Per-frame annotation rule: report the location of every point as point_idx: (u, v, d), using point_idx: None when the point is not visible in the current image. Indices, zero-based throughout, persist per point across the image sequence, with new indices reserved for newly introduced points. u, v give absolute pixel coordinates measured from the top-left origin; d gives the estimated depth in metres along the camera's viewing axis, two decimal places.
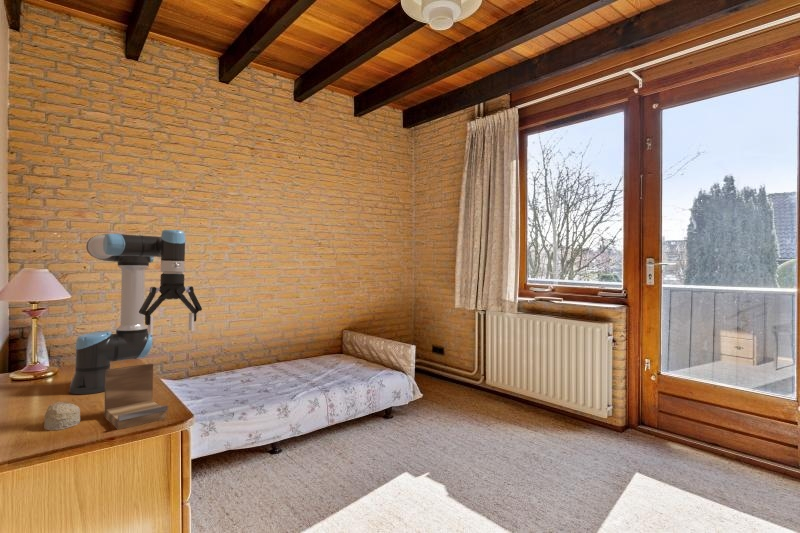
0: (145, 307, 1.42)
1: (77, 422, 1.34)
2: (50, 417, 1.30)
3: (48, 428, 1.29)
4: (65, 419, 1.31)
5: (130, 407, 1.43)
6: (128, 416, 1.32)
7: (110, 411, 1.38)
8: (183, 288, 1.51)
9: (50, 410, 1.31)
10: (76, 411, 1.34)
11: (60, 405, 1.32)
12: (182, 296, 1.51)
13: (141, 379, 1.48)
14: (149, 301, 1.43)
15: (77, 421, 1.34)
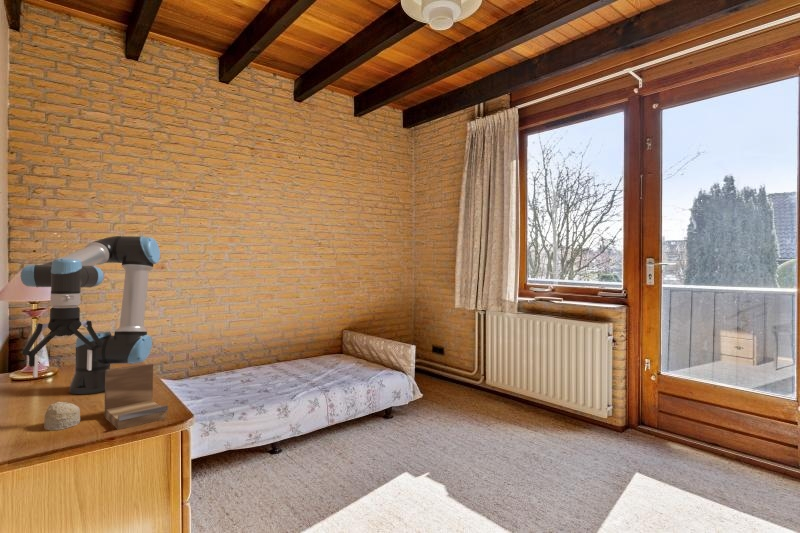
0: (28, 347, 1.27)
1: (77, 422, 1.34)
2: (50, 417, 1.30)
3: (48, 428, 1.29)
4: (65, 419, 1.31)
5: (130, 407, 1.43)
6: (128, 416, 1.32)
7: (110, 411, 1.38)
8: (78, 323, 1.36)
9: (50, 410, 1.31)
10: (76, 411, 1.34)
11: (60, 405, 1.32)
12: (76, 332, 1.35)
13: (141, 379, 1.48)
14: (33, 340, 1.28)
15: (77, 421, 1.34)
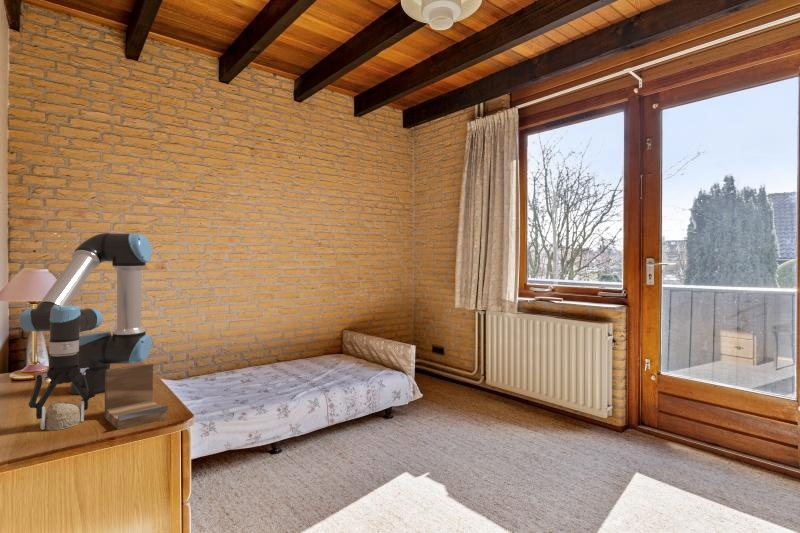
0: (33, 399, 1.28)
1: (77, 422, 1.34)
2: (50, 416, 1.30)
3: (48, 428, 1.29)
4: (65, 419, 1.31)
5: (130, 407, 1.43)
6: (128, 416, 1.32)
7: (110, 411, 1.38)
8: (77, 370, 1.36)
9: (50, 410, 1.31)
10: (76, 411, 1.34)
11: (60, 405, 1.32)
12: (73, 380, 1.35)
13: (141, 379, 1.48)
14: (36, 392, 1.28)
15: (77, 421, 1.34)
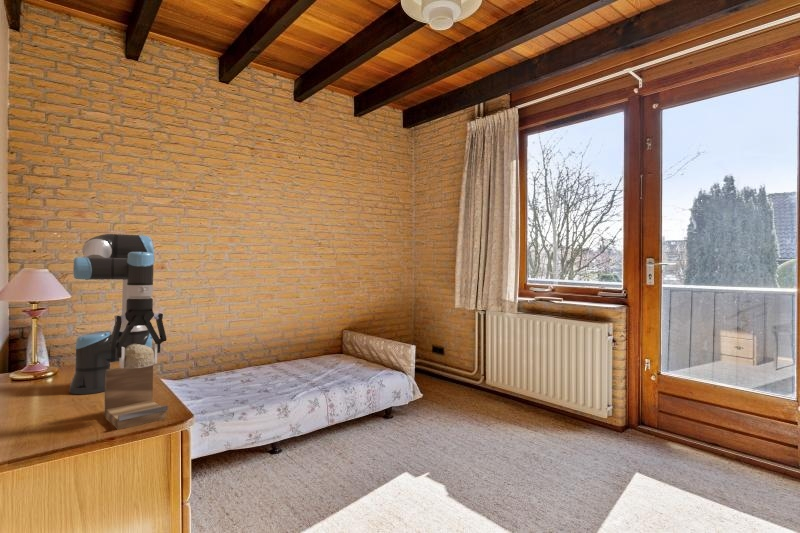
0: (114, 339, 1.34)
1: (152, 363, 1.40)
2: (129, 356, 1.36)
3: (127, 366, 1.35)
4: (142, 358, 1.37)
5: (130, 407, 1.43)
6: (128, 416, 1.32)
7: (110, 411, 1.38)
8: (152, 314, 1.42)
9: (128, 350, 1.37)
10: (151, 352, 1.40)
11: (137, 346, 1.38)
12: (148, 323, 1.41)
13: (141, 379, 1.48)
14: (117, 332, 1.34)
15: (152, 362, 1.40)
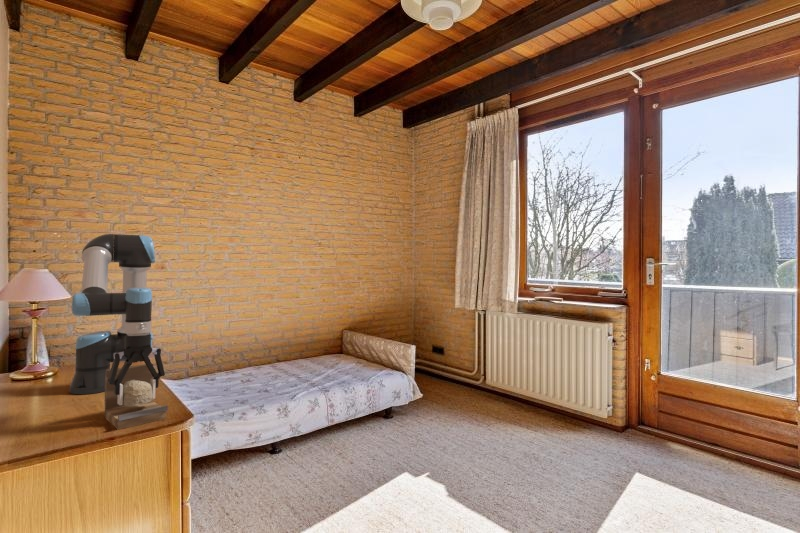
0: (112, 376, 1.34)
1: (150, 399, 1.41)
2: (127, 393, 1.37)
3: (126, 403, 1.36)
4: (140, 395, 1.38)
5: (130, 407, 1.43)
6: (128, 416, 1.32)
7: (110, 411, 1.38)
8: (150, 349, 1.43)
9: (127, 387, 1.38)
10: (150, 388, 1.41)
11: (135, 382, 1.39)
12: (147, 359, 1.41)
13: (141, 379, 1.48)
14: (115, 369, 1.35)
15: (150, 398, 1.41)
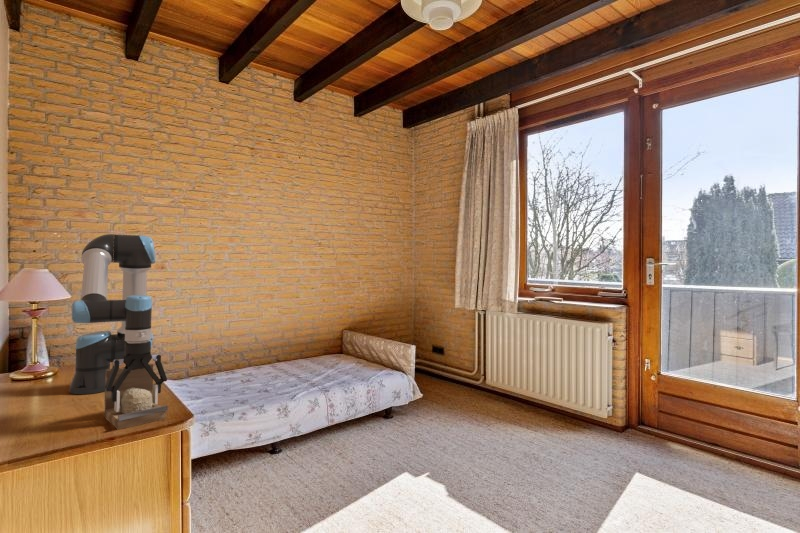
0: (110, 383, 1.34)
1: (150, 406, 1.41)
2: (127, 401, 1.37)
3: (125, 412, 1.36)
4: (140, 403, 1.38)
5: None
6: (128, 416, 1.32)
7: (110, 411, 1.38)
8: (150, 356, 1.43)
9: (126, 395, 1.38)
10: (149, 396, 1.41)
11: (135, 390, 1.39)
12: (147, 366, 1.42)
13: (141, 379, 1.48)
14: (113, 376, 1.35)
15: (150, 406, 1.41)
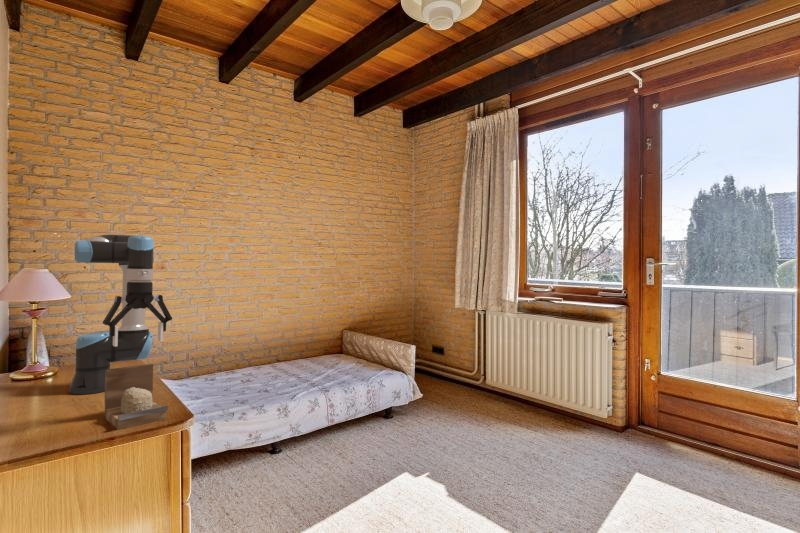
0: (109, 317, 1.35)
1: (150, 406, 1.41)
2: (127, 401, 1.37)
3: (125, 412, 1.36)
4: (140, 403, 1.38)
5: None
6: (128, 416, 1.32)
7: (110, 411, 1.38)
8: (151, 297, 1.44)
9: (126, 395, 1.38)
10: (149, 396, 1.41)
11: (135, 390, 1.39)
12: (150, 305, 1.44)
13: (141, 379, 1.48)
14: (113, 311, 1.36)
15: (150, 406, 1.41)
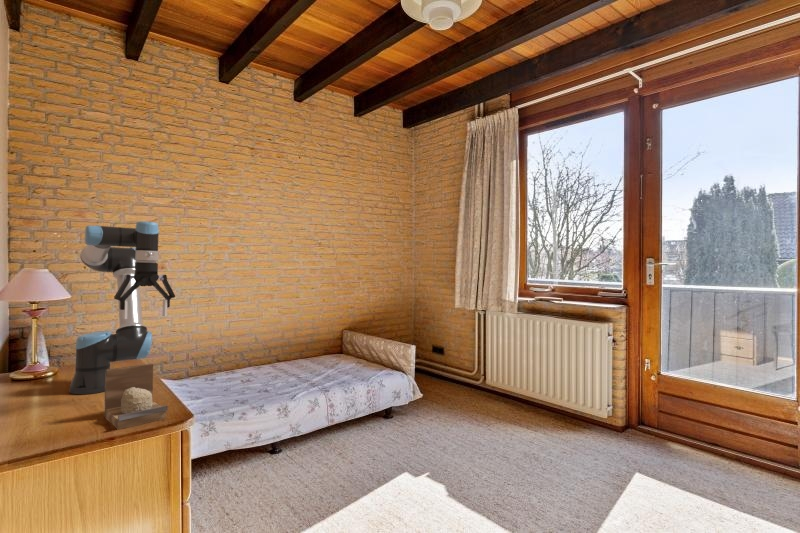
0: (120, 293, 1.53)
1: (150, 406, 1.41)
2: (127, 401, 1.37)
3: (125, 412, 1.36)
4: (140, 403, 1.38)
5: None
6: (128, 416, 1.32)
7: (110, 411, 1.38)
8: (157, 276, 1.62)
9: (126, 395, 1.38)
10: (149, 396, 1.41)
11: (135, 390, 1.39)
12: (155, 283, 1.61)
13: (141, 379, 1.48)
14: (123, 287, 1.54)
15: (150, 406, 1.41)
